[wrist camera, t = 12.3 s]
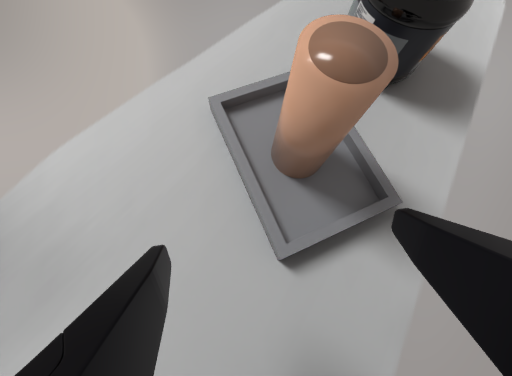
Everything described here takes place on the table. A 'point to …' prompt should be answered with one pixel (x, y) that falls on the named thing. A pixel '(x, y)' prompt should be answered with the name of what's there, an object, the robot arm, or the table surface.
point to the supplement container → (411, 25)
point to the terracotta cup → (329, 89)
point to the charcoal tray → (297, 189)
